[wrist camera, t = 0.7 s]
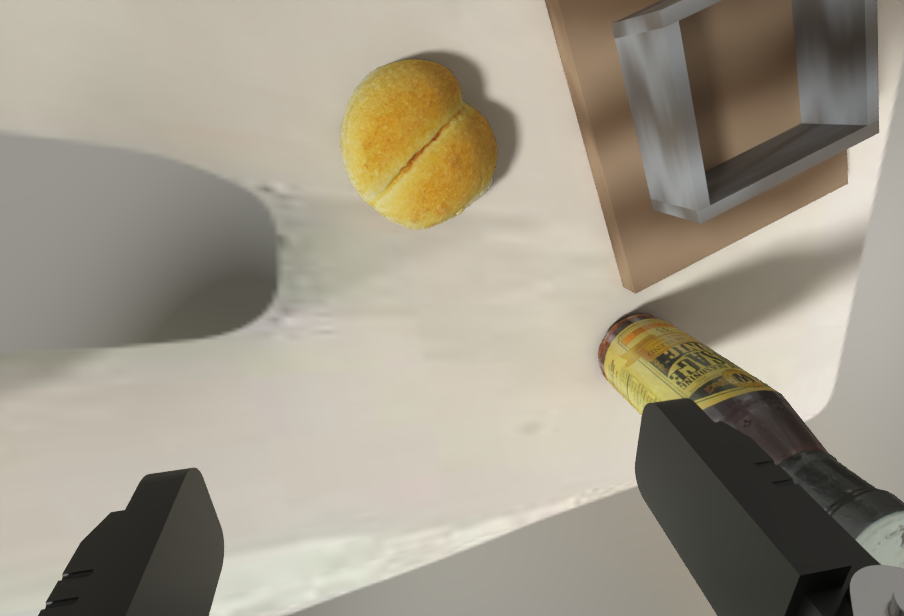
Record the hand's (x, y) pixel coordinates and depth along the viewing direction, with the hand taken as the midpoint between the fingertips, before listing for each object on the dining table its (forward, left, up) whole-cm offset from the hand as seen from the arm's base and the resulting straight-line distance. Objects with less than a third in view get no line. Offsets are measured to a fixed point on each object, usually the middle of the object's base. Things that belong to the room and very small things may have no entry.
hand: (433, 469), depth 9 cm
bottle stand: (+2, +25, -23) cm, 34 cm away
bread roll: (-2, +6, -24) cm, 24 cm away
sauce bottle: (+18, +15, -23) cm, 33 cm away
